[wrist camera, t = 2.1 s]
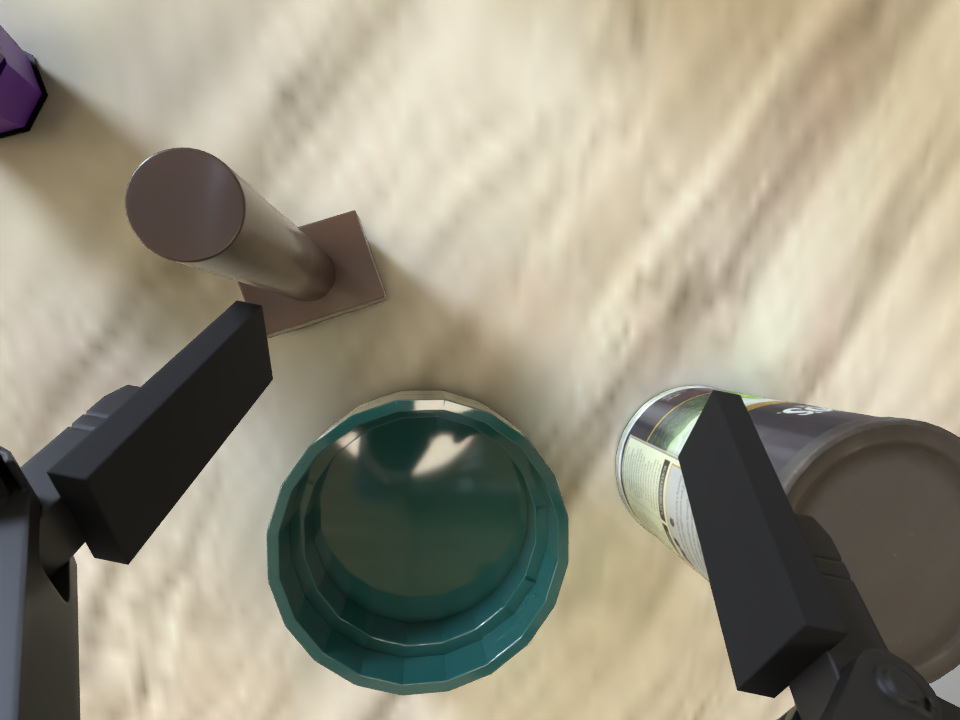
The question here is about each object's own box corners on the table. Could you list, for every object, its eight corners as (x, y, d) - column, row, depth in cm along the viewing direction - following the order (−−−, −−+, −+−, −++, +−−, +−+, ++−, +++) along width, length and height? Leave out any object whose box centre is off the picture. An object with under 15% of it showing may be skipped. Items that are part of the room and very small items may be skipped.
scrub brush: (252, 261, 29) (10, 151, 12) (364, 227, 29) (284, 76, 12) (280, 337, 29) (83, 336, 12) (390, 302, 30) (347, 254, 13)
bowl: (255, 439, 29) (221, 460, 24) (501, 355, 31) (516, 358, 26) (343, 674, 30) (328, 740, 25) (576, 582, 32) (605, 628, 27)
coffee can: (655, 357, 32) (840, 371, 18) (789, 425, 33) (1061, 488, 19) (585, 505, 32) (715, 637, 18) (722, 567, 33) (946, 737, 19)
